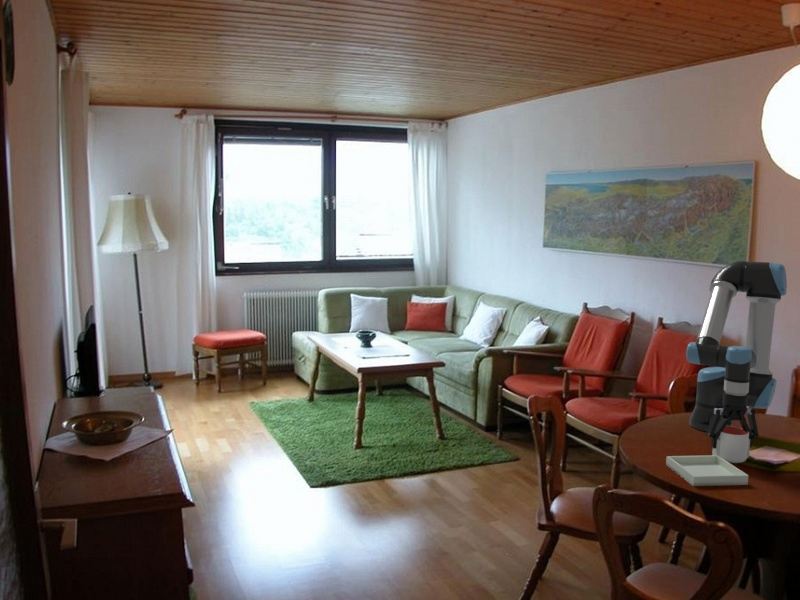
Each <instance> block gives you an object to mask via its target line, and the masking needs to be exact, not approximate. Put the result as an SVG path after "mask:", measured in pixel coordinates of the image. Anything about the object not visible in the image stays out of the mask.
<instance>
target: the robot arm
mask: <svg viewBox="0 0 800 600" xmlns="http://www.w3.org/2000/svg"><path fill="white" fill-rule="evenodd" d="M787 284H788V279H787V271H786V268H785V265H784V264H782V263H778V262H767V261H766V262H765V261H745V260H744V261H743V260H738V261H733V262H731V263H728V264H727V265H725V266H723V267H722V268H721V269H720V270H718V271H717V273H715V275H714V277H713V278H712V279H711V281H710V285H709V292H710V295H709V297H708V302H707V304H706V308H705V311H704V312H705V313H704V314H703V319H702V323H701V325H700V328H699V331H698V335H697V338H696V341H690V342H689V343H687V347H686V352H685V353H686V354H685V358H686V360H687V362H688V363H691V364H695V365H701V366H702V365H703V366H710V367H704V368H702V369H700V370H699V371H698V375H697V380H696V382H697V383H696V396H695V406H694V408H693V411H692V412H691V415H690V418H689V423H688V425H689V426H690V427H692V428H694V429H697V430H698V431H702V432H705V435H706V436H707V437H709V438H710V439H711V441H710V447H711V448H712V450H711V451H712V452H711V453H712V454H711V455H718V456H719V447H720V439H718V437H719V436H720V434H721V432H722V431H723V430H724V428H725V427H726V426H732V427H733V422H734V421H738V422H739V424H740V426H741V428H742V429H743V430H744V431H745V432H747V431H748V432H749V439H748V451H747V459H749V458H750V448H752V446H753V440H755V438H758V437H759V436H760V435H759V431H758V426H757V425H758V424H757V421H756V409H763V410H766V409H768V408H769V407H770V406H771V405H772V403H773V402H772V401H773V398H774V396H775V393H776V389H777V379H776V378H774V377H773V374H774V373H773V372H772V371H771V369H769V367H770V358H771V351H772V341H773V331H774V322H775V321H774V320H775V311H776V305H777V304H778V303H779V302H780V301H781V299H782V296H786V295H787V288H788V287H787ZM739 292H740V293H746V294H745V298H746V299H747V301H749V307H748V317H747V326H746V336H745V343H744V346H743V345H742V346H741V345H732V346H727V345H720V343H721V340H722V336H723V332H724V328H725V325H726V322H727V318H728V315H729V311H730V308H731V304H732V301H733V298H735V296H737V293H739ZM745 415H747V419H746V416H745ZM732 421H733V422H732ZM747 421H748V423H747Z"/></svg>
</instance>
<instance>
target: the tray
mask: <svg viewBox="0 0 800 600" xmlns="http://www.w3.org/2000/svg"><path fill="white" fill-rule="evenodd" d="M665 461H666V462H665V466H667V467H668V468H669V469H670V468H671V470H672V471H673V472H674V471H675V472H674V473H676V475H678V476H679V475H680V476H679V477H681V478H682V479H683V478H684V479H683V480H685V481H686V482H687V483H688V484H690V486H692V487H712V486H713V487H714V486H746V485H747V486H748V485H749V474H747V473H746V472H744V471H743V470H741V469H739V468H737V467H736V466H735V465H733V463H730V462H727V461H726V460H724V459H722V458H721V457H719V456H718V455H712V454H711V455H671V456H666V459H665Z"/></svg>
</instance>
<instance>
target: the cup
mask: <svg viewBox="0 0 800 600" xmlns="http://www.w3.org/2000/svg"><path fill="white" fill-rule="evenodd" d="M718 439H720V447H719V457H721V458H722V459H724V460H726V461H727V462H729V463H730V464H741V463H745V462H746V461H747V459H748V458H747V451H748V439H749V432H748V431H747V432H745V431H744V430H743V428H742V427H738V426H733V425H732V426H726V427H725V428H724V430H723V431H722V432H721V434H720V436H719V437H718Z"/></svg>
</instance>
